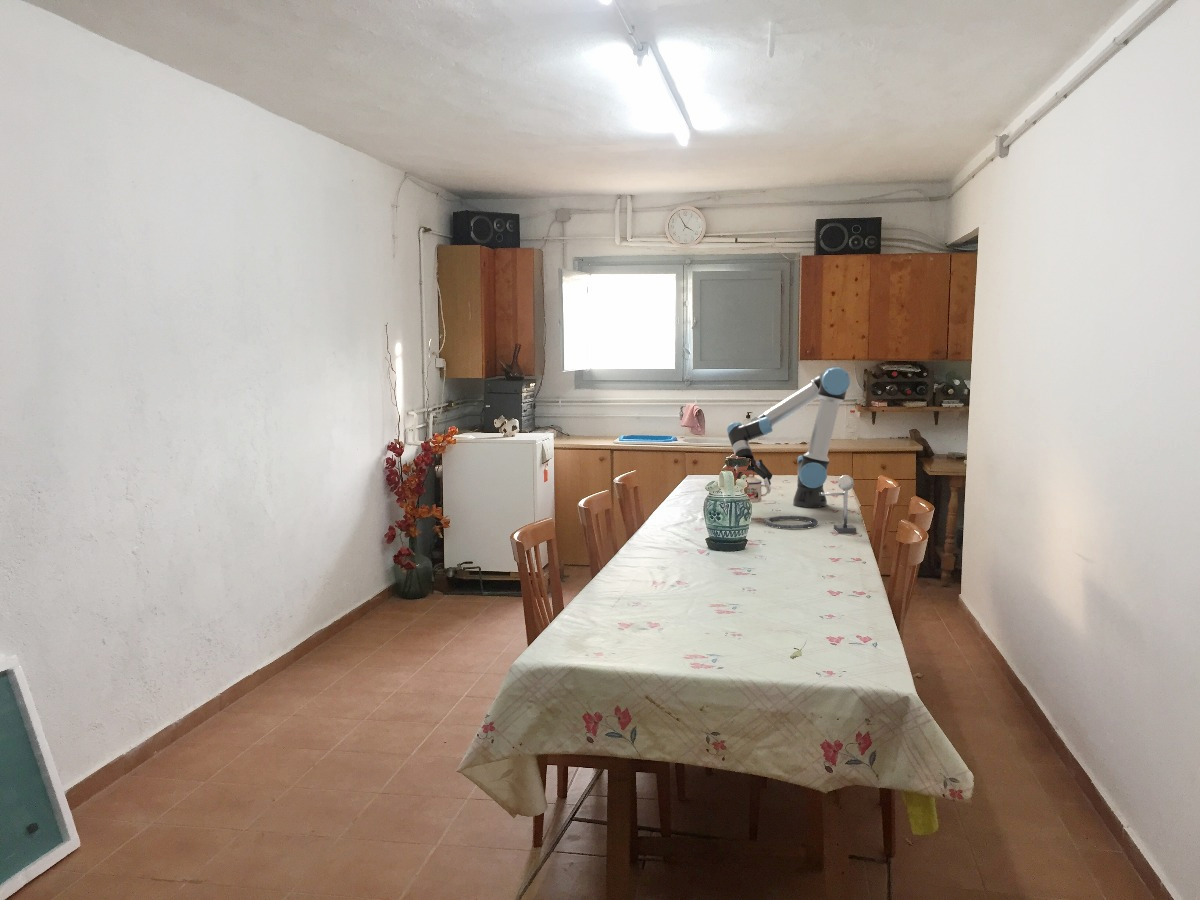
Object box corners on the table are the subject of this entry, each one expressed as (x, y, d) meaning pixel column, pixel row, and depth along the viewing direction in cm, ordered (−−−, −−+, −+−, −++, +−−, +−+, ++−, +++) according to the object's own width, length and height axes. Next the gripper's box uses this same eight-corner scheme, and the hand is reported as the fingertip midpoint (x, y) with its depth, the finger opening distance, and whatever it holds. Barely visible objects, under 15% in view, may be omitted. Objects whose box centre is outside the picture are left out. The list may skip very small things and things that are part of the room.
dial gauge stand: (851, 529, 361) (852, 473, 359) (856, 533, 354) (857, 476, 352) (816, 529, 361) (816, 474, 359) (820, 533, 354) (821, 476, 352)
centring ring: (810, 518, 384) (810, 515, 384) (822, 528, 363) (822, 525, 363) (761, 519, 384) (761, 515, 384) (770, 529, 363) (770, 525, 363)
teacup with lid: (739, 503, 387) (739, 476, 386) (742, 499, 396) (741, 473, 395) (767, 503, 384) (767, 476, 383) (769, 499, 393) (769, 473, 391)
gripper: (765, 456, 405) (779, 495, 392) (715, 459, 401) (728, 499, 387) (770, 446, 400) (784, 485, 386) (719, 448, 395) (732, 489, 382)
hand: (756, 492), depth 387 cm, fingers closed on teacup with lid, 11 cm apart
